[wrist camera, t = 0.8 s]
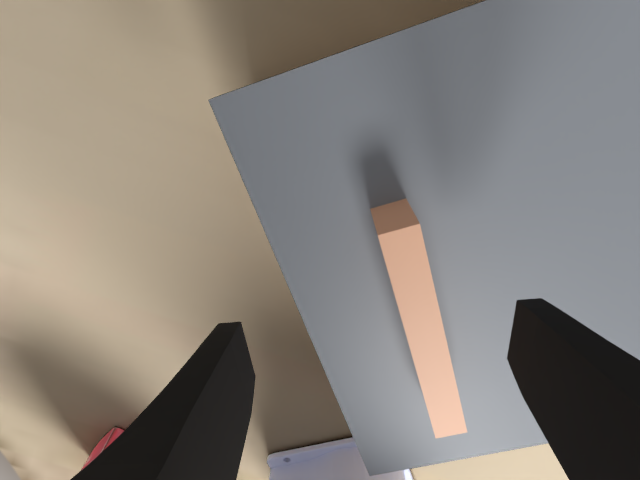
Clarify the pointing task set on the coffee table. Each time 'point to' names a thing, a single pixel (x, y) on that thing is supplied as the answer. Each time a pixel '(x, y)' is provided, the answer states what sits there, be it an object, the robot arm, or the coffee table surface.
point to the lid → (450, 210)
